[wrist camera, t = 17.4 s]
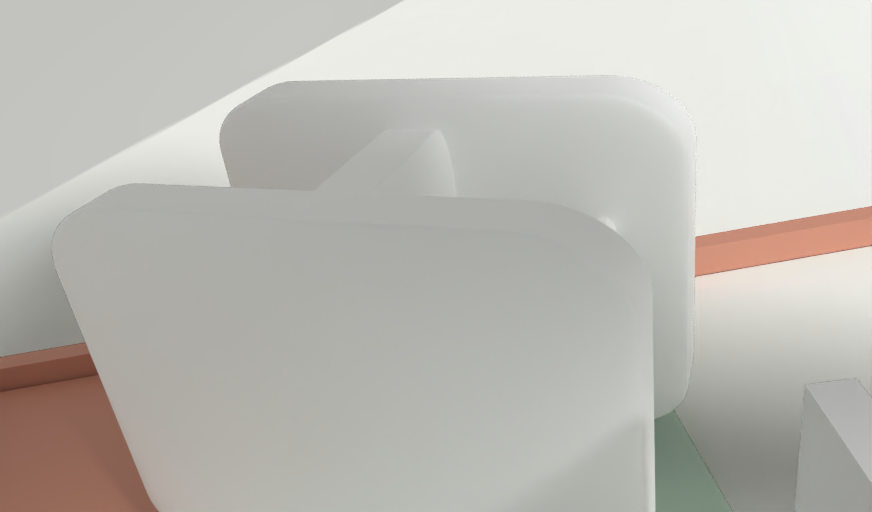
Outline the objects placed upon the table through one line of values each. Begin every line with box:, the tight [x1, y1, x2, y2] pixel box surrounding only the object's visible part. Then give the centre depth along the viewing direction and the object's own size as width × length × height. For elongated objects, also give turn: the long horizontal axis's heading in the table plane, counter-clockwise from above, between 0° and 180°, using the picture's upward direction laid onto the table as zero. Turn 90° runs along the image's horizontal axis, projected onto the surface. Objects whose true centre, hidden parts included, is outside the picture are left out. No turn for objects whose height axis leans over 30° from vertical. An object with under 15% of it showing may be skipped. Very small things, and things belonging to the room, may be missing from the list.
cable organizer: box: [52, 75, 697, 512], centre depth 23 cm, size 15×11×12 cm
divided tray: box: [0, 206, 872, 512], centre depth 26 cm, size 46×23×1 cm, turn 97°
